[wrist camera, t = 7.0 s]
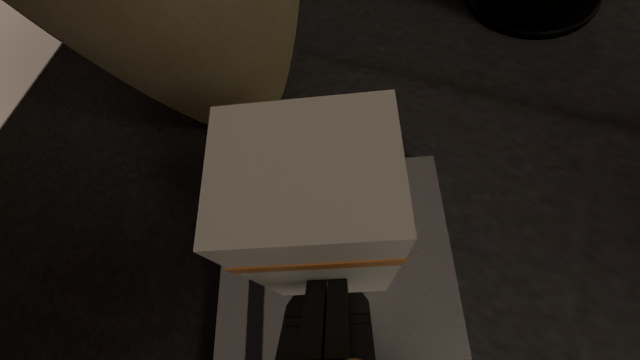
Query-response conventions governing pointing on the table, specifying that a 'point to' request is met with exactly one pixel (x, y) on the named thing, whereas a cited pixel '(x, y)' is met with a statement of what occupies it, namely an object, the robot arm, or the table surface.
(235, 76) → the plant pot
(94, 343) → the table surface
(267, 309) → the console
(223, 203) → the fader knob
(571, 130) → the table surface
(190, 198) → the table surface
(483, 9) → the french press
